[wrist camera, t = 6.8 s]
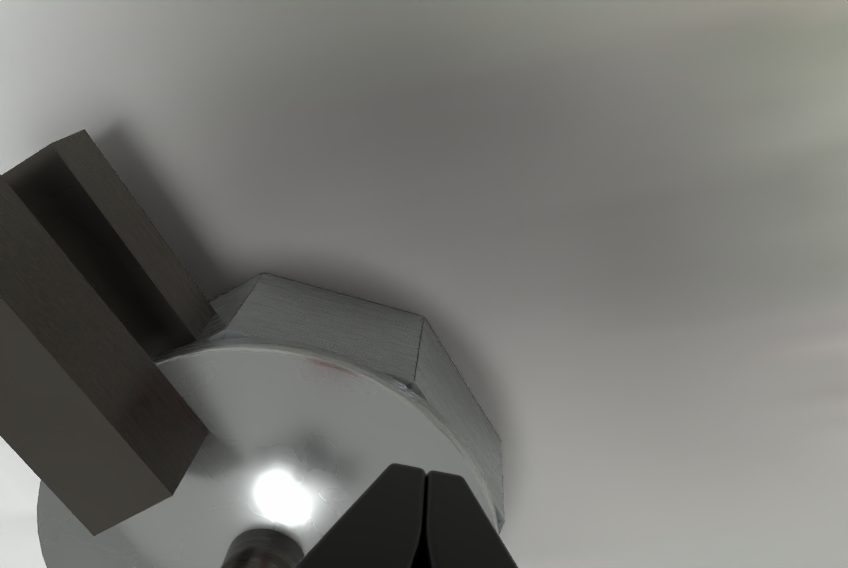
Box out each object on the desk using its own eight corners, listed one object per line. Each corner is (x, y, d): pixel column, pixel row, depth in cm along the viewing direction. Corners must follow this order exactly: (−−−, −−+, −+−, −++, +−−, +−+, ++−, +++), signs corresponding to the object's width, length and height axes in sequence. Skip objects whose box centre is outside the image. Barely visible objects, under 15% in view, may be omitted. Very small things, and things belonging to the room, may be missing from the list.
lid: (580, 609, 21) (597, 717, 18) (232, 747, 24) (196, 860, 21) (191, 45, 16) (125, 64, 13) (-190, 311, 19) (-315, 377, 16)
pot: (581, 571, 25) (597, 665, 22) (293, 680, 28) (268, 778, 24) (247, 31, 19) (199, 46, 16) (-76, 237, 22) (-176, 286, 18)
